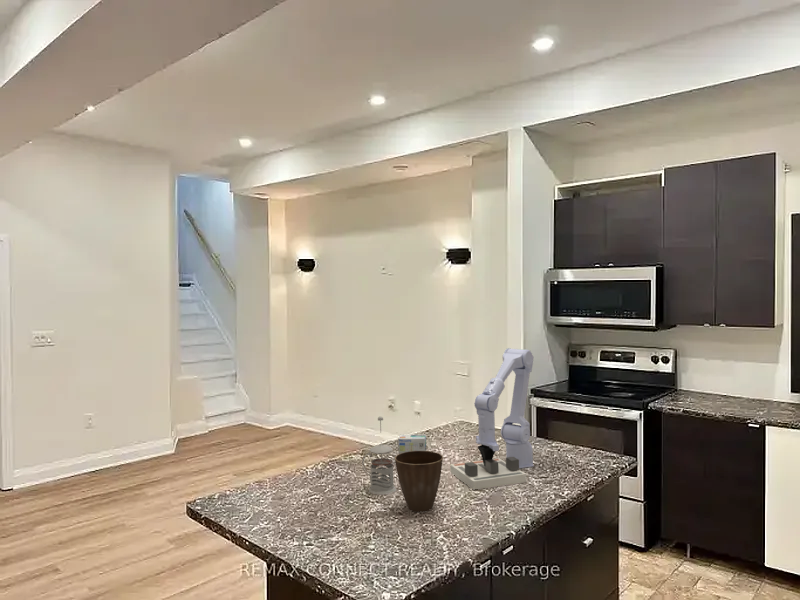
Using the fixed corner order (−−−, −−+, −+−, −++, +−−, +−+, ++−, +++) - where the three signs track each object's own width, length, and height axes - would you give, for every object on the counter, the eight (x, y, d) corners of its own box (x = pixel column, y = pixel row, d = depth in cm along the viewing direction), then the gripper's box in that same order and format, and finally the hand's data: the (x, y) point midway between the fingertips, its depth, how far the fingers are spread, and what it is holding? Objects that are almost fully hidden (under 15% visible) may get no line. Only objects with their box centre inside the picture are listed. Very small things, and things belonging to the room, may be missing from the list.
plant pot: (389, 503, 189) (388, 453, 189) (432, 496, 195) (431, 448, 194) (406, 520, 175) (405, 467, 175) (452, 512, 181) (450, 460, 180)
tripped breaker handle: (493, 469, 210) (493, 459, 210) (498, 472, 207) (498, 462, 207) (485, 470, 210) (485, 460, 209) (490, 473, 206) (490, 463, 206)
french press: (393, 495, 197) (391, 420, 196) (359, 493, 199) (357, 419, 198) (399, 485, 206) (397, 413, 206) (367, 483, 209) (365, 413, 208)
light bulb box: (427, 461, 234) (426, 433, 233) (426, 466, 227) (425, 438, 227) (400, 460, 235) (399, 433, 234) (398, 466, 228) (397, 438, 228)
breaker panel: (499, 466, 225) (498, 447, 224) (526, 482, 206) (525, 462, 205) (450, 472, 218) (449, 454, 218) (473, 490, 199) (473, 469, 199)
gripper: (467, 424, 217) (468, 461, 217) (485, 434, 203) (486, 473, 203) (485, 422, 219) (486, 459, 219) (504, 431, 205) (504, 470, 205)
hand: (487, 466), depth 211 cm, fingers closed
